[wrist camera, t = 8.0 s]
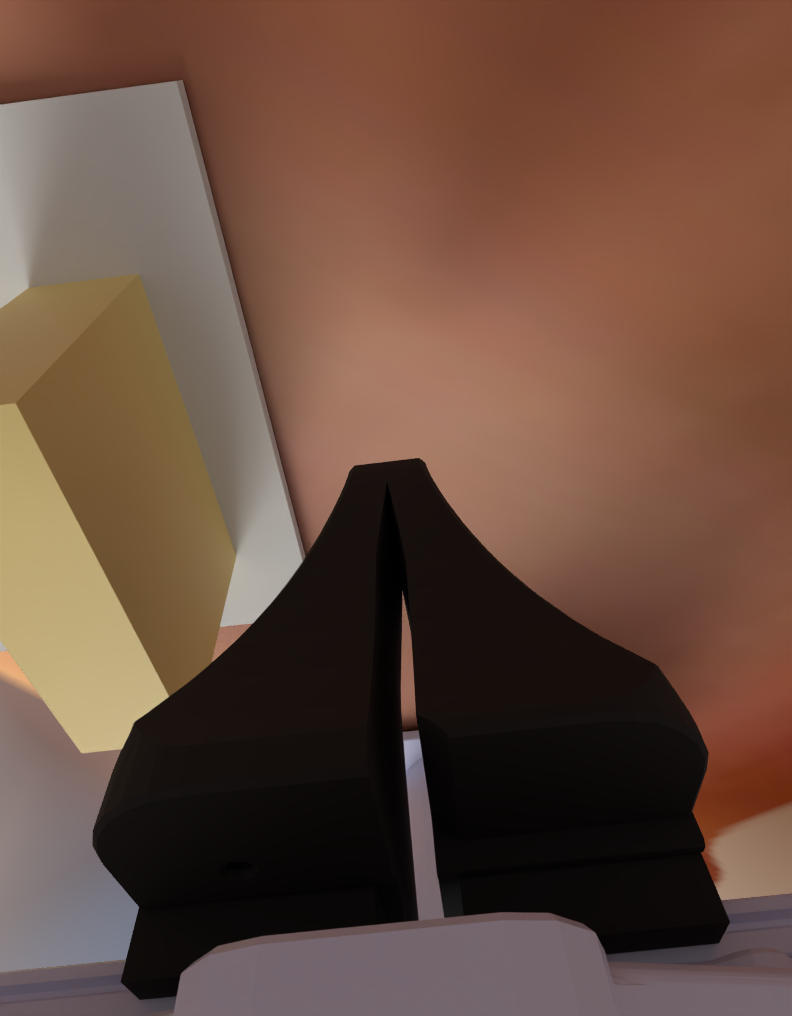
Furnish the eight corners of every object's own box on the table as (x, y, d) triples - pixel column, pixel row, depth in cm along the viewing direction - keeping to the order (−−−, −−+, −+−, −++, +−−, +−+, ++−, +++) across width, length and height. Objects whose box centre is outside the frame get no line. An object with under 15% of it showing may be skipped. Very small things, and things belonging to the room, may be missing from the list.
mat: (317, 604, 20) (317, 615, 20) (-48, 645, 20) (-55, 657, 20) (182, 79, 12) (176, 80, 11) (-430, 162, 12) (-457, 166, 12)
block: (236, 555, 18) (192, 741, 13) (154, 565, 18) (81, 753, 13) (138, 273, 13) (15, 403, 9) (28, 288, 13) (-155, 424, 9)
